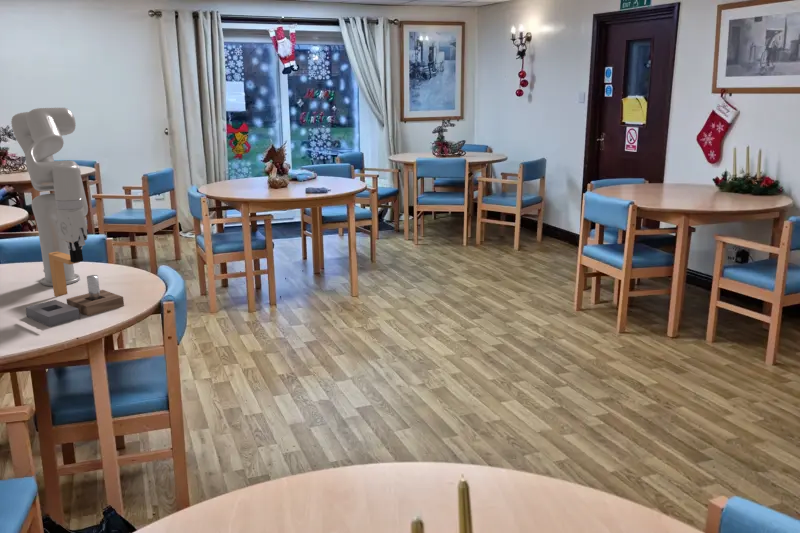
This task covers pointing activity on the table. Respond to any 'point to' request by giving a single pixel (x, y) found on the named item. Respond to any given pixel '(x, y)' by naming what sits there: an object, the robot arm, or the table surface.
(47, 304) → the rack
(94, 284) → the grey metal rod
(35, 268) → the table surface
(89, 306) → the socket block
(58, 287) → the orange angle bracket
